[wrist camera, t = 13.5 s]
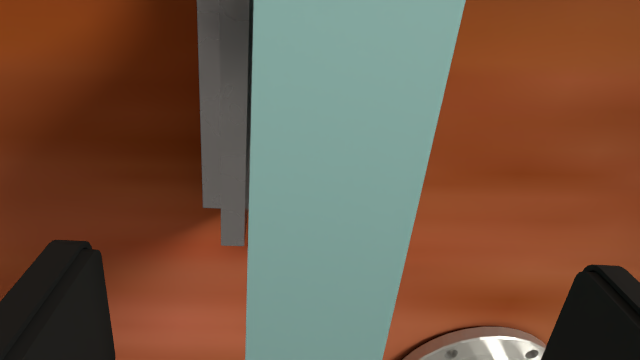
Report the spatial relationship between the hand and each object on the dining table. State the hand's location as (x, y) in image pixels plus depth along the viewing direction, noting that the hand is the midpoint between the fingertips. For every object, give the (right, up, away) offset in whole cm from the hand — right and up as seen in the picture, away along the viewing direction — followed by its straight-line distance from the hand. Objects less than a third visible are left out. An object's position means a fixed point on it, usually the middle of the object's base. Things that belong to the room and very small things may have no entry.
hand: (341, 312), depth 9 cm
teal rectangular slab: (-2, +7, +11) cm, 13 cm away
